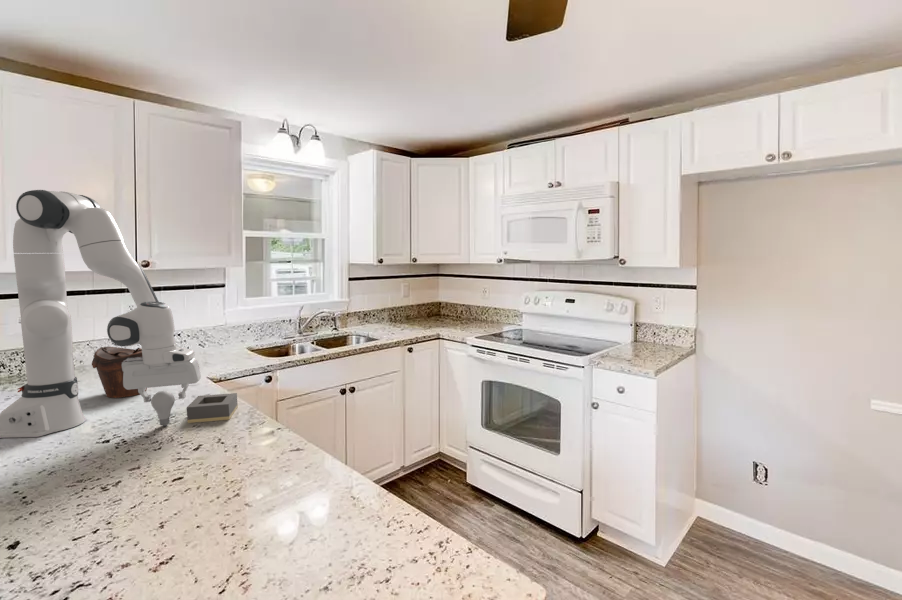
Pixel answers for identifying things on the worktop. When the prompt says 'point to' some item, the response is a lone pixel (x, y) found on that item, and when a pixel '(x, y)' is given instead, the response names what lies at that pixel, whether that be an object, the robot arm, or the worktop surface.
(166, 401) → the lightbulb
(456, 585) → the worktop surface
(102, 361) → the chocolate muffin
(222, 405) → the socket block
